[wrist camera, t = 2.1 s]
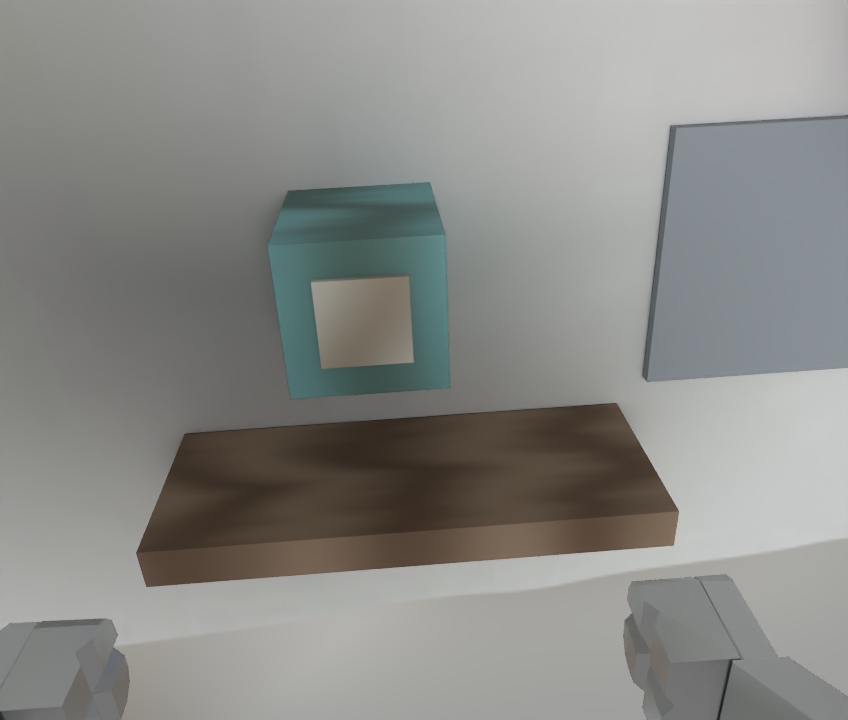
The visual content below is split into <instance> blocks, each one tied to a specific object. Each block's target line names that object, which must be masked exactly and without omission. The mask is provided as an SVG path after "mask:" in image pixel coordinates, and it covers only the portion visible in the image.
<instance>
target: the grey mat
mask: <svg viewBox="0 0 848 720" xmlns="http://www.w3.org/2000/svg"><path fill="white" fill-rule="evenodd" d="M837 368H848V116H832V117H815V118H797V119H780V120H762V121H744V122H727V123H709V124H691V125H674V126H671V131H670V140H669V149H668V158H667V167H666V176H665V185H664V193H663V202H662V211H661V220H660V229H659V238H658V247H657V256H656V264H655V273H654V282H653V291H652V300H651V309H650V318H649V327H648V335H647V344H646V353H645V362H644V371H643V377H644V378H645V380H646V381H647V382H651V381H666V380H680V379H694V378H708V377H723V376H737V375H751V374H766V373H780V372H794V371H808V370H823V369H837Z"/></svg>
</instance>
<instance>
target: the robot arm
mask: <svg viewBox="0 0 848 720" xmlns="http://www.w3.org/2000/svg"><path fill="white" fill-rule="evenodd" d="M627 601H628V603H629V606H630V609H631V611H632V614H631V615H630V616H629V617H628V618H627V619H626V620H625V622H624V635H623V637H624V648H625V656H626V660H627V664H628V668H629V671H630V674H631V677H632V680H633V682H634V683H635V684H636V685H637V686H639V687H640V688H641V689H642V690H644V691H645V693H644V700H643V707H642V708H643V711H644V713H645V716H646V719H647V720H848V696H846V695H845V694H844V693H842V692H840V691H839V690H838V689H836V688H835V687H833V686H832V685H830V684H828V683H827V682H826V681H824V680H822V679H821V678H820V677H818V676H817V675H815V674H814V673H812V672H811V671H809V670H808V669H806V668H805V667H803V666H801V665H800V664H799V663H797V662H796V661H794V660H793V659H791V658H790V657H778V655H777V653H776V652H775V650H774V648H773V647H772V645H771V643H770V642H769V640H768V638H767V637H766V635H765V633H764V632H763V630H762V628H761V627H760V625H759V623H758V622H757V620H756V618H755V617H754V615H753V613H752V611H751V610H750V608H749V606H748V605H747V603H746V601H745V600H744V598H743V596H742V595H741V593H740V591H739V590H738V588H737V586H736V585H735V583H734V581H733V580H732V578H730V577H729V576H728V575H726V574H724V575H711V576H698V577H694V578H693V577H684V578H671V579H659V580H646V581H634V582H631V584H630V586H629V589H628V596H627ZM117 636H118V634H117V632H116V629H115V627H114V624H113V622H112V620H110V619H82V620H59V621H42V622H27V623H10V624H8V625H7V626H6V627H4V628H3V629H2V630H1V631H0V720H121V718H122V715H123V712H124V709H125V706H126V703H127V698H128V689H129V670H128V665H127V661H126V658H125V655H123V654H122V653H120V652H119V651H118V650H116V649H115V648H113V646H114V643H115V641H116V638H117Z"/></svg>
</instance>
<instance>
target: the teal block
mask: <svg viewBox="0 0 848 720" xmlns="http://www.w3.org/2000/svg"><path fill="white" fill-rule="evenodd" d="M267 247H268V254H269V261H270V267H271V274H272V281H273V287H274V294H275V301H276V307H277V314H278V320H279V327H280V334H281V340H282V347H283V354H284V360H285V367H286V374H287V380H288V387H289V393H290V399H302V398H316V397H330V396H344V395H358V394H372V393H386V392H400V391H414V390H428V389H442V388H450V371H449V338H448V306H447V274H446V241H445V232H444V229H443V225H442V222H441V219H440V215H439V212H438V208H437V205H436V202H435V198H434V195H433V192H432V188H431V185H430V182H429V183H412V184H395V185H379V186H362V187H345V188H328V189H312V190H295V191H288V193H287V195H286V198H285V201H284V203H283V206H282V209H281V211H280V214H279V216H278V219H277V222H276V224H275V227H274V230H273V232H272V235H271V237H270V240H269V243H268V245H267Z"/></svg>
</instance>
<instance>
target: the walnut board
mask: <svg viewBox="0 0 848 720" xmlns="http://www.w3.org/2000/svg"><path fill="white" fill-rule="evenodd" d="M678 514H679V511H678V509H677V507H676V505H675V504H674V502H673V500H672V498H671V497H670V495H669V493H668V492H667V490H666V488H665V486H664V485H663V483H662V481H661V479H660V478H659V476H658V474H657V472H656V471H655V469H654V467H653V466H652V464H651V462H650V460H649V459H648V457H647V455H646V453H645V452H644V450H643V448H642V447H641V445H640V443H639V441H638V440H637V438H636V436H635V434H634V433H633V431H632V429H631V427H630V426H629V424H628V422H627V421H626V419H625V417H624V415H623V414H622V412H621V410H620V408H619V407H618V405H617V403H616V404H601V405H587V406H573V407H559V408H545V409H531V410H517V411H503V412H489V413H475V414H461V415H447V416H432V417H418V418H404V419H390V420H376V421H362V422H348V423H334V424H320V425H306V426H292V427H278V428H263V429H249V430H235V431H221V432H207V433H193V434H185V435H184V437H183V440H182V442H181V445H180V447H179V449H178V452H177V454H176V457H175V459H174V462H173V464H172V467H171V469H170V472H169V474H168V476H167V479H166V481H165V484H164V486H163V489H162V491H161V494H160V496H159V499H158V501H157V503H156V506H155V508H154V511H153V513H152V516H151V518H150V521H149V523H148V525H147V528H146V530H145V533H144V535H143V538H142V540H141V543H140V545H139V548H138V550H137V552H136V554H137V557H138V561H139V564H140V567H141V571H142V574H143V577H144V581H145V584H146V587H152V586H165V585H177V584H190V583H203V582H215V581H228V580H241V579H254V578H266V577H279V576H292V575H304V574H317V573H330V572H343V571H355V570H368V569H381V568H393V567H406V566H419V565H432V564H444V563H457V562H470V561H482V560H495V559H508V558H521V557H533V556H546V555H559V554H571V553H584V552H597V551H610V550H622V549H635V548H648V547H661V546H673V545H674V540H675V534H676V527H677V521H678Z"/></svg>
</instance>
